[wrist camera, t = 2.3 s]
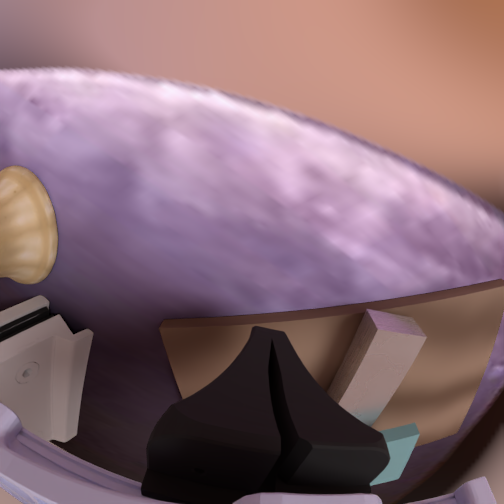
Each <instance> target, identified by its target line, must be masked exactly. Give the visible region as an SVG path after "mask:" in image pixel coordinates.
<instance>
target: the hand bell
mask: <svg viewBox="0 0 504 504" xmlns="http://www.w3.org/2000/svg"><path fill="white" fill-rule="evenodd" d="M57 247H58V232H57V224H56V218H55V212H54V209H53V206H52V203H51V200H50V198H49V195H48V193H47V191H46V189H45V187H44V186H43V184H42V183H41V181H40V180H39V179H38V178H37V177H36V175H35V174H33V173H32V172H31V171H29V170H28V169H26V168H24V167H21V166H10V167H7V168H5V169H3V170H2V171H1V172H0V277H9V278H11V279H13V280H14V281H16V282H19V283H23V284H35V283H38V282H41V281H42V280H44V279H45V278H46V277H47V276H48V275H49V273H50V272H51V270H52V267H53V265H54V263H55V259H56V255H57Z"/></svg>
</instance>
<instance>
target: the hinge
mask: <svg viewBox="0 0 504 504" xmlns="http://www.w3.org/2000/svg"><path fill="white" fill-rule="evenodd" d="M93 334H94V333H93V332H92V331H91V330H89V329H85V330H83V331H81V332H78V333H76V334H74V335H73V334H72V332H71V331H70V329H69V328H68V326H67V325H66V323H65V322H64V320H63V319H62V317H61V316H60V314H58V315H56V316H54V315H53V314H52V315H50V316H49V301H48V300H47V299H46V298H45V297H43V296H41V295H39V296H36V297H34V298H32V299H29V300H27V301H24V302H22V303H20V304H17V305H15V306H13V307H10V308H8V309H6V310H4V311H1V312H0V402H1V403H3V404H4V405H6V406H7V407H9V408H10V409H11V410H12V411H14V412H15V414H16V415H17V416H18V417H19V419H20V421H21V424H22V427H23V428H25V429H27V430H28V431H30V432H31V433H33V434H35V435H36V436H38V437H40V438H42V439H43V440H45V441H47V442H48V441H50V440H52V439H54V440H58V441H61V442H67V441H68V440H70V439H71V438H73V437H74V436H76V435H77V427H78V419H79V411H80V404H81V397H82V390H83V384H84V378H85V373H86V367H87V362H88V357H89V352H90V347H91V343H92V338H93Z"/></svg>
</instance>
